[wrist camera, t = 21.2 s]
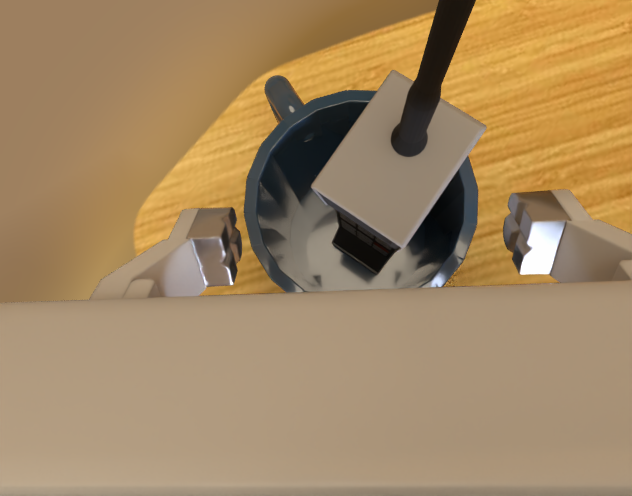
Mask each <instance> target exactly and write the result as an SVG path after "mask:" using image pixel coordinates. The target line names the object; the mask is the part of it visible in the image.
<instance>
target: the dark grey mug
mask: <svg viewBox="0 0 632 496" xmlns="http://www.w3.org/2000/svg"><path fill="white" fill-rule="evenodd" d="M376 92H377V91H364V90H348V91H347V90H345V91H341V92H338V93H334V94H331V95H327V96H323V97H320V98H316V99H313V100H311V101H310V102H308V103H307V104H305V105H304V103H303V102H302V100H301V99H300V97H299V96H298V94H297V93H296V91H295V90H294V88H293V87H292V85H291V84H290V82H289V81H288V80H287V79H286V78H285V77H283V76H279V75H277V76H273V77H271V78H269V79H268V81H267V82H266V84H265V94H266V97H267V99H268V101H269V104H270V106H271V108H272V111H273V113H274V115H275V118H276V120H277V122H278V125H277V126H276V128H275V129H274V130H273V131H272V132H271V134H270V135H269V136H268V137H267V138H266V139H265V141H264V142H263V143H262V144H261V146H260V147H259V150H258V152H257V155H256V157H255V159H254V162H253V164H252V166H251V169H250V171H249V174H248V176H247V178H248V179H247V180H246V191H245V203H244V213H245V214H244V217H245V222H246V226H247V230H248V234H249V239H250V243H251V247H252V249H253V251H254V253H255V254H256V256H257V258H258V259H259V261H260V263H261V264H262V266H263V267H264V269H265V271H266V272H267V274H268V276H269V277H270V278H271V280H272V281H273V282H275V283H276V284H277V285H278V286H279V287H281V288H282V289H283V290H284V291H285V292H286V293H292V292H320V291H347V290H375V289H403V288H431V287H443V286H444V285H445V283H446V282H447V281H448V280H449V278H450V277H451V276H452V275H453V273H454V272H455V271H456V270H457V269H458V267H459V266H460V265H461V264H462V262H463V260H464V259H465V257H466V254H467V251H468V249H469V246H470V243H471V241H472V238H473V235H474V233H475V230H476V225H477V216H478V189H477V188H478V186H477V183H476V180H475V176H474V173H473V170H472V167H471V163H470V160H469V157H468V156H467V157H466V159H465V160H464V162H463V163H462V165H461V166H460V168H459V169H458V171H457V172H456V174H455V175H454V176H453V178H452V179H451V181H450V182H449V184H448V185H447V187H446V188H445V190H444V191H443V193H442V194H441V195H440V197H439V198H438V200H437V201H436V203H435V204H434V206H433V207H432V209H431V210H430V211H429V213H428V214H427V216H426V217H425V219H424V220H423V222H422V223H421V225H420V226H419V228H418V229H417V230H416V232H415V233H414V235H413V236H412V238H411V239H410V241H409V242H408V244H407V245H406V247H405V248H403V249H402V250H400V251H398V252H395V253H394V255H393V256H392V257H391V258H390V259H389V260H388V262H387V263H386V265H385V266H384V267H383V269H382V270H381V271H380V273H379V274H378V275H376V274H375V273H373V272H372V271H371V270H369V269H368V268H366V267H365V266H363V265H362V264H360V263H359V262H357V261H356V260H354V259H353V258H351V257H350V256H349V255H347V254H346V253H344V252H343V251H341V250H340V249H338V248H337V247H335V246H334V245H333V244H332V241H333V238H334V236H335V234H336V232H337V229H338V227H339V224H338V219H337V214H336V210H335V209H334V208H332V207H331V206H329V205H326V204H325V203H324V202H323V201H322V200H321V199H320V197H319V196H318V195H317V194H316V193H315V192H314V190H313V189H312V188H311V185H312V183H313V182H314V180H315V179H316V178H317V176H318V175H319V173H320V172H321V171H322V169H323V168H324V166H325V165H326V163H327V162H328V161H329V159H330V158H331V156H332V155H333V153H334V152H335V151H336V149H337V148H338V146H339V145H340V143H341V142H342V141H343V139H344V138H345V136H346V135H347V133H348V132H349V131H350V129H351V128H352V126H353V125H354V123H355V122H356V121H357V119H358V118H359V116H360V115H361V113H362V112H363V111H364V109H365V108H366V106H367V105H368V104H369V102H370V101H371V99H372V98H373V96H374V95H375V94H376Z"/></svg>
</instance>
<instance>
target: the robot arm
mask: <svg viewBox="0 0 632 496" xmlns="http://www.w3.org/2000/svg"><path fill="white" fill-rule="evenodd" d="M508 207H509V209H510V211H511V213H510V214H509V215H508V216H507V217H506V218H505V221H504V227H503V237H504V242H505V245H506V247H507V249H508V250H509V251H511V252H513V258H512V260H513V262H514V264H515V266H516V268H517V270H518V273H519V274H550V275H551V276H552V277H553V278H555V279H556V280H557V281H559V282H560V283H542V284H514V285H487V286H459V287H431V288H403V289H375V290H347V291H320V292H292V293H264V294H236V295H208V296H199V295H200V294H201V293H202V292H203V291H204V290H205V289H206V287H212V286H228V285H234V282H235V278H236V274H237V271H238V270H237V266H236V264H237V263H238V262H239V261H240V259H241V255H242V241H241V235H240V231H239V230H238V229H237V228H236V227H235V224H236V221H237V218H236V214H235V210H234V209H233V208H232V207H224V208H201V209H200V208H194V209H184V210H182V212H181V214H180V216H179V218H178V220H177V222H176V224H175V226H174V228H173V230H172V232H171V234H170V236H169V238H168V240H162V241H161V242H159V243H157V244H156V245H154V246H153V247H151V248H150V249H148V250H146V251H145V252H143V253H142V254H140V255H139V256H137V257H136V258H134V259H132V260H131V261H129V262H128V263H126V264H125V265H123V266H121V267H120V268H118V269H117V270H115V271H114V272H112V273H111V274H109V275H108V276H106V277H104V278H103V279H101V281H100V282H99V284H98V285H97V287H96V289H95V290H94V292H93V294H92V295H91V297H90V299H89V300H70V301H69V300H68V301H41V302H11V303H0V496H632V234H630V233H628V232H626V231H623V230H621V229H619V228H616V227H614V226H612V225H610V224H607V223H605V222H603V221H601V220H593V219H592V218H591V217H590V215H589V214H588V213H587V212H586V210H585V209H584V208H583V206H582V205H581V204H580V203H579V201H578V200H577V199H576V197H575V196H574V195H573V194H572V192H571V191H570V190H568V189H559V190H548V191H536V192H523V193H512V194H511V196H510V198H509V202H508Z"/></svg>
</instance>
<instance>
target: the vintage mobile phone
mask: <svg viewBox="0 0 632 496" xmlns="http://www.w3.org/2000/svg"><path fill="white" fill-rule="evenodd" d="M475 1H476V0H439V3H438V6H437V9H436V13H435V16H434V20H433V23H432V27H431V30H430V34H429V37H428V41H427V44H426V48H425V51H424V55H423V58H422V62H421V65H420V69H419V72H418V76H417V78H416V80H415V81H412V80H410V79H409V78H407V77H405V76H404V75H402V74H400V73H399V72H397V71H395V70H392V71H391V72H390V74H389V75H388V76H387V78H386V79H385V81H384V82H383V84H382V85H381V86H380V88H379V89H378V91H377V92H376V94H375V95H374V96H373V98H372V99H371V101H370V102H369V104H368V105H367V106H366V108H365V109H364V111H363V112H362V113H361V115H360V116H359V118H358V119H357V121H356V122H355V123H354V125H353V126H352V128H351V129H350V131H349V132H348V133H347V135H346V136H345V138H344V139H343V141H342V142H341V143H340V145H339V146H338V148H337V149H336V151H335V152H334V153H333V155H332V156H331V158H330V159H329V161H328V162H327V163H326V165H325V166H324V168H323V169H322V171H321V172H320V173H319V175H318V176H317V178H316V179H315V180H314V182H313V183H312V185H311V188H312V189H313V190H314V192H315V193H316V194H317V195H318V196H319V197H320V199H321V200H322V201H323V202H324V203H325V204H326V205H329V206H331V207H332V208H334V209H335V210H336V214H337V219H338V224H339V227H338V229H337V232H336V234H335V236H334V238H333V241H332V244H333V245H334V246H335V247H337V248H338V249H340V250H341V251H343V252H344V253H346V254H347V255H349V256H350V257H351V258H353V259H354V260H356V261H357V262H359V263H360V264H362V265H363V266H365V267H366V268H368V269H369V270H371V271H372V272H373V273H375V274H376V275H378V274H379V273H380V271H381V270H382V269H383V267H384V266H385V265H386V263H387V262H388V260H389V259H390V258H391V257H392V256H393V255H394V253H395V252H398V251H400V250H402V249H403V248H405V247H406V245H407V244H408V242H409V241H410V239H411V238H412V236H413V235H414V233H415V232H416V230H417V229H418V228H419V226H420V225H421V223H422V222H423V220H424V219H425V217H426V216H427V214H428V213H429V211H430V210H431V209H432V207H433V206H434V204H435V203H436V201H437V200H438V198H439V197H440V195H441V194H442V193H443V191H444V190H445V188H446V187H447V185H448V184H449V182H450V181H451V179H452V178H453V176H454V175H455V174H456V172H457V171H458V169H459V168H460V166H461V165H462V163H463V162H464V160H465V159H466V157H467V156H468V155H469V153H470V152H471V150H472V149H473V147H474V146H475V144H476V143H477V141H478V140H479V138H480V137H481V136H482V134H483V133H484V131H485V130H486V125H484V124H483V123H481V122H479V121H478V120H476V119H474V118H473V117H471V116H470V115H468V114H466V113H465V112H463V111H461V110H460V109H458V108H456V107H455V106H453V105H451V104H450V103H448V102H446V101H445V100H443V99H442V98H440V96H441V84H442V82H443V79H444V77H445V74H446V72H447V70H448V67H449V65H450V62H451V60H452V57H453V55H454V52H455V50H456V48H457V45H458V43H459V40H460V38H461V35H462V33H463V30H464V28H465V26H466V23H467V21H468V18H469V16H470V13H471V11H472V8H473V6H474V4H475Z"/></svg>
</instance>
